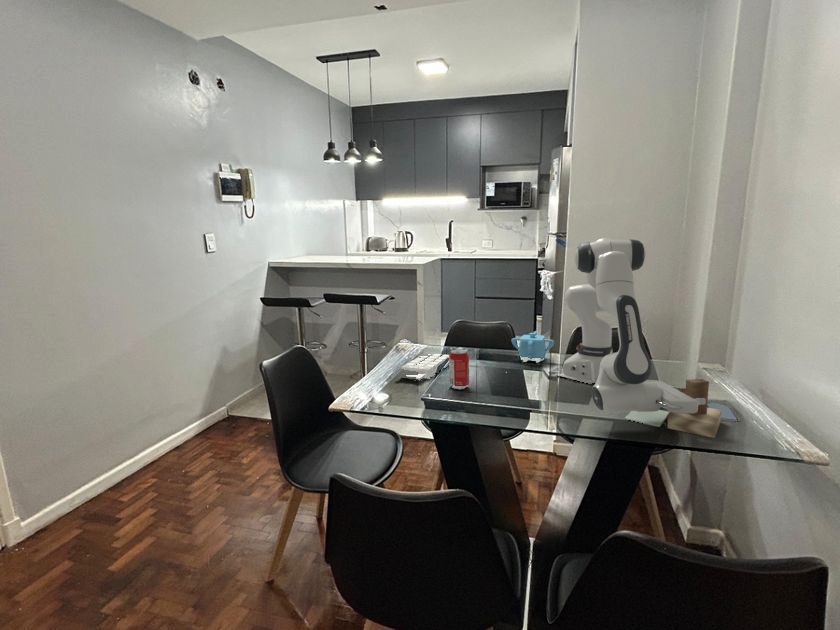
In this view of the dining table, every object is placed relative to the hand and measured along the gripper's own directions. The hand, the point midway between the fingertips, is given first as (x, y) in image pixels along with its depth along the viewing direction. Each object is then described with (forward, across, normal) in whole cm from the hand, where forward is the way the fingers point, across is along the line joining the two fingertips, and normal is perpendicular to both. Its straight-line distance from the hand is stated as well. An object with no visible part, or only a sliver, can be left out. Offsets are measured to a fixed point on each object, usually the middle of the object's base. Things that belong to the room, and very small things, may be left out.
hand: (694, 395), depth 136 cm
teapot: (-27, +84, +10) cm, 89 cm away
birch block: (+1, 0, +9) cm, 9 cm away
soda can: (-67, +43, +10) cm, 80 cm away
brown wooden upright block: (+1, 0, +6) cm, 6 cm away
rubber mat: (-10, +8, +10) cm, 16 cm away
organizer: (-80, +67, +10) cm, 105 cm away
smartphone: (+15, +10, +10) cm, 21 cm away
